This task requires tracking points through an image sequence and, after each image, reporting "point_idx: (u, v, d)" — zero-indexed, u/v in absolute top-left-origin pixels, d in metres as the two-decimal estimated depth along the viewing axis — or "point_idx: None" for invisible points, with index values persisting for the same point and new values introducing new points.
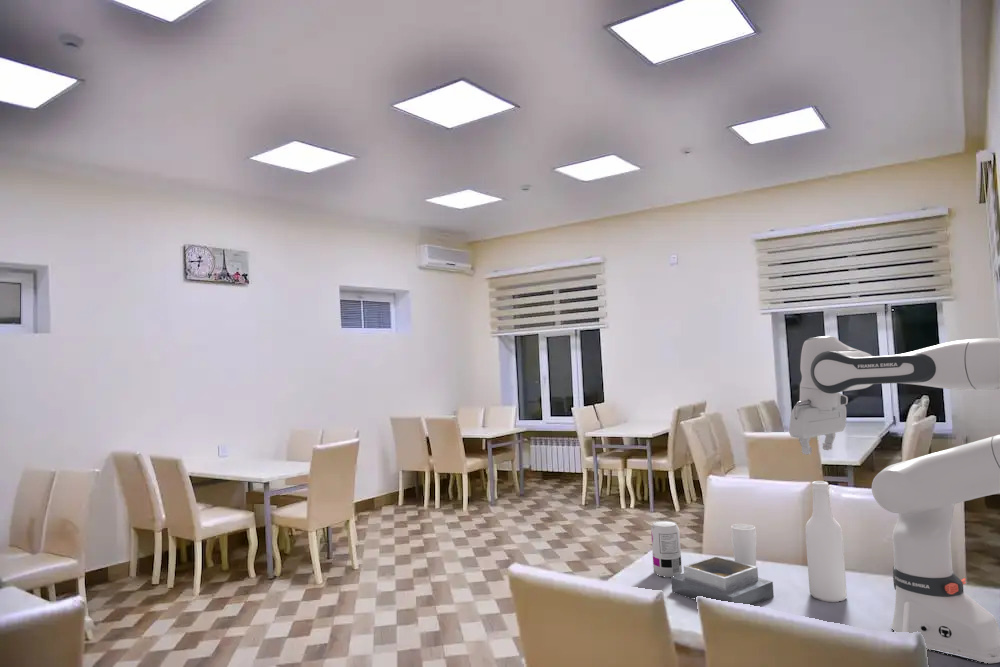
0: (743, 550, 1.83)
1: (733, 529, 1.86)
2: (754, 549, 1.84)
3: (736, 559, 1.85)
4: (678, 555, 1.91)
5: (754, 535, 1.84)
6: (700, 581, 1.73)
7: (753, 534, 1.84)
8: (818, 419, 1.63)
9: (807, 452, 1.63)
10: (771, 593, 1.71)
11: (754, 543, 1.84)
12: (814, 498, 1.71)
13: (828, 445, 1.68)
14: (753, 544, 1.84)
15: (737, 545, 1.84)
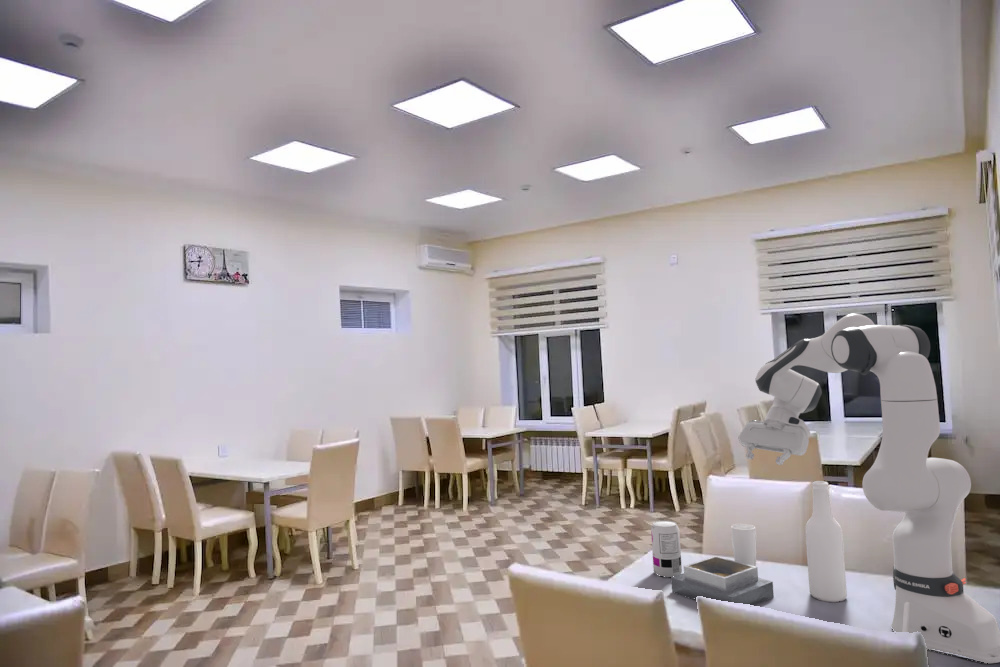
0: (743, 550, 1.83)
1: (733, 529, 1.86)
2: (754, 549, 1.84)
3: (736, 559, 1.85)
4: (678, 555, 1.91)
5: (754, 535, 1.84)
6: (700, 581, 1.73)
7: (753, 534, 1.84)
8: (764, 432, 1.97)
9: None
10: (771, 593, 1.71)
11: (754, 543, 1.84)
12: (814, 498, 1.71)
13: None
14: (753, 544, 1.84)
15: (737, 545, 1.84)
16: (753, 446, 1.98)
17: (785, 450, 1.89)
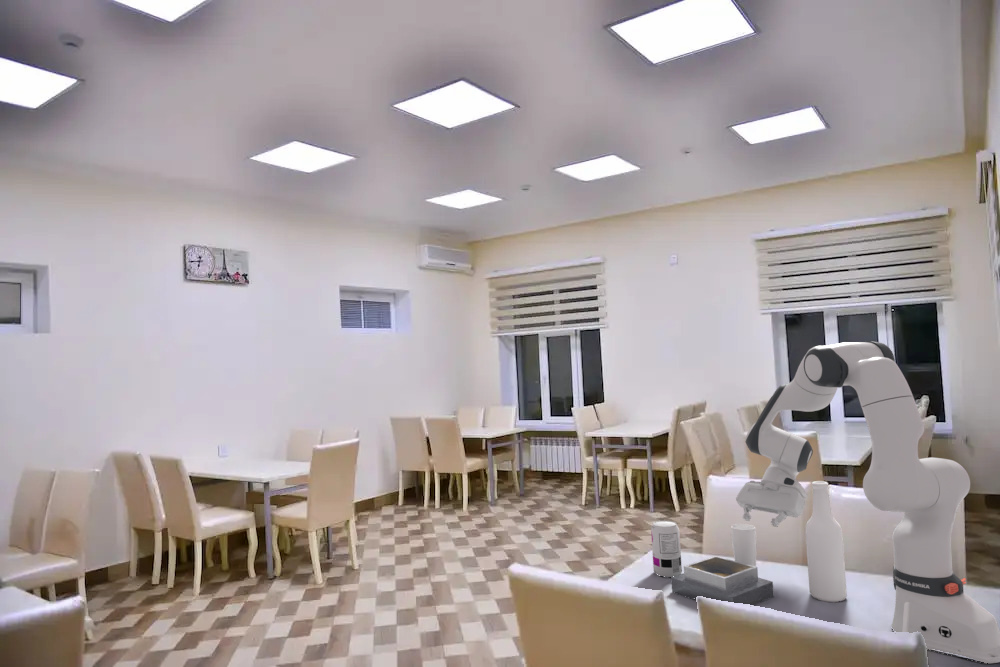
0: (743, 550, 1.83)
1: (733, 529, 1.86)
2: (754, 549, 1.84)
3: (736, 559, 1.85)
4: (678, 555, 1.91)
5: (754, 535, 1.84)
6: (700, 581, 1.73)
7: (753, 534, 1.84)
8: (761, 493, 1.96)
9: None
10: (771, 593, 1.71)
11: (754, 543, 1.84)
12: (814, 498, 1.71)
13: None
14: (753, 544, 1.84)
15: (737, 545, 1.84)
16: (750, 507, 1.97)
17: (780, 512, 1.87)
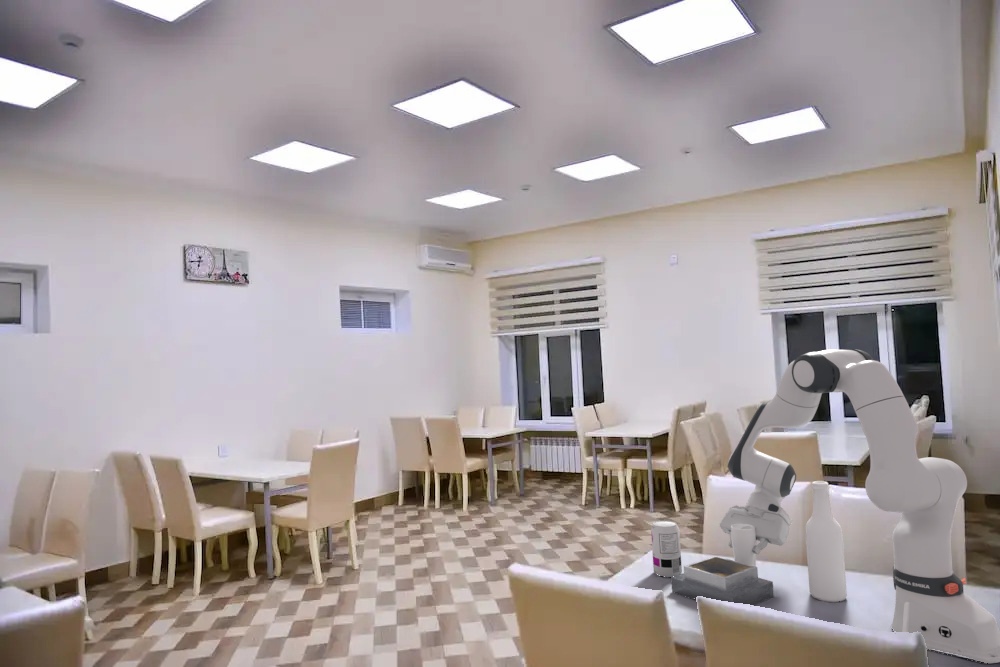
0: (743, 550, 1.83)
1: (733, 529, 1.86)
2: None
3: (736, 559, 1.85)
4: (678, 555, 1.91)
5: (754, 535, 1.84)
6: (700, 581, 1.73)
7: (753, 534, 1.84)
8: (745, 519, 1.91)
9: None
10: (771, 593, 1.71)
11: (754, 543, 1.84)
12: (814, 498, 1.71)
13: None
14: (753, 544, 1.84)
15: (737, 545, 1.84)
16: None
17: (761, 539, 1.83)
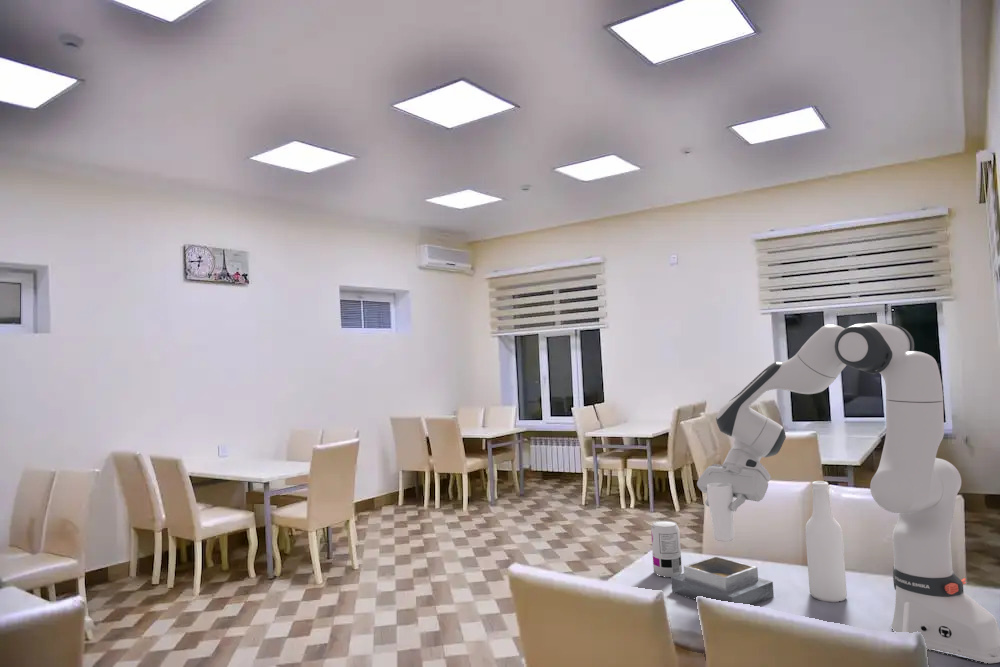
0: (719, 508, 1.75)
1: (708, 487, 1.78)
2: None
3: (713, 519, 1.77)
4: (678, 555, 1.91)
5: (730, 493, 1.76)
6: (700, 581, 1.73)
7: (729, 492, 1.76)
8: (722, 477, 1.83)
9: None
10: (771, 593, 1.71)
11: (730, 501, 1.75)
12: (814, 498, 1.71)
13: None
14: (729, 502, 1.75)
15: (713, 504, 1.76)
16: None
17: (738, 495, 1.75)
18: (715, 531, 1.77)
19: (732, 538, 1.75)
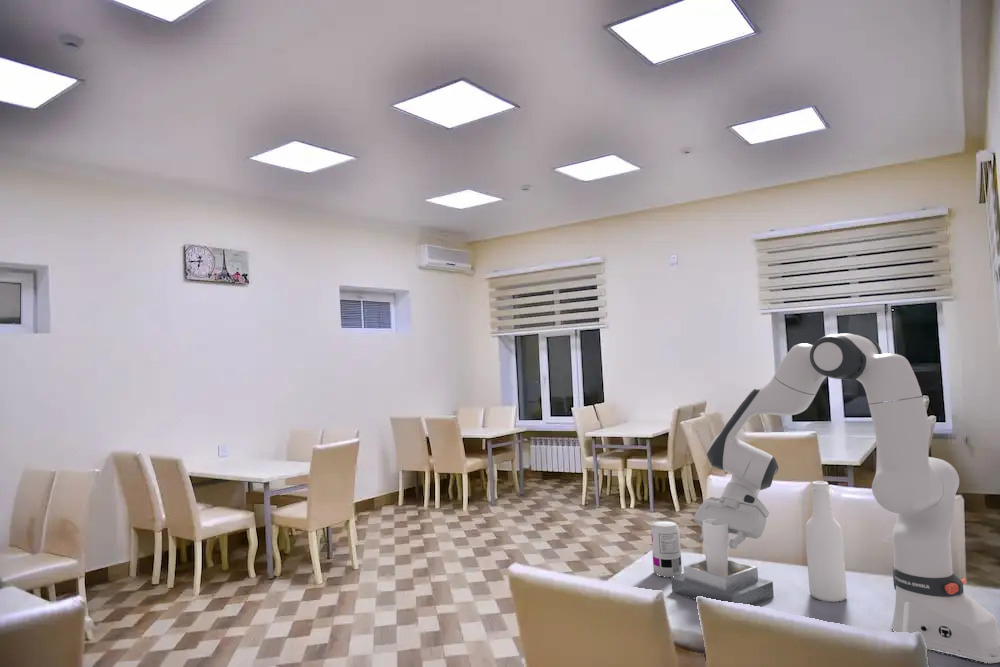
0: (714, 547, 1.74)
1: (704, 525, 1.76)
2: (726, 546, 1.74)
3: (707, 556, 1.76)
4: (678, 555, 1.91)
5: (726, 531, 1.74)
6: (700, 581, 1.73)
7: (725, 530, 1.74)
8: (720, 511, 1.81)
9: None
10: (771, 593, 1.71)
11: (726, 540, 1.74)
12: (814, 498, 1.71)
13: None
14: (725, 541, 1.74)
15: (708, 541, 1.75)
16: None
17: (739, 532, 1.72)
18: (708, 568, 1.76)
19: (725, 576, 1.74)
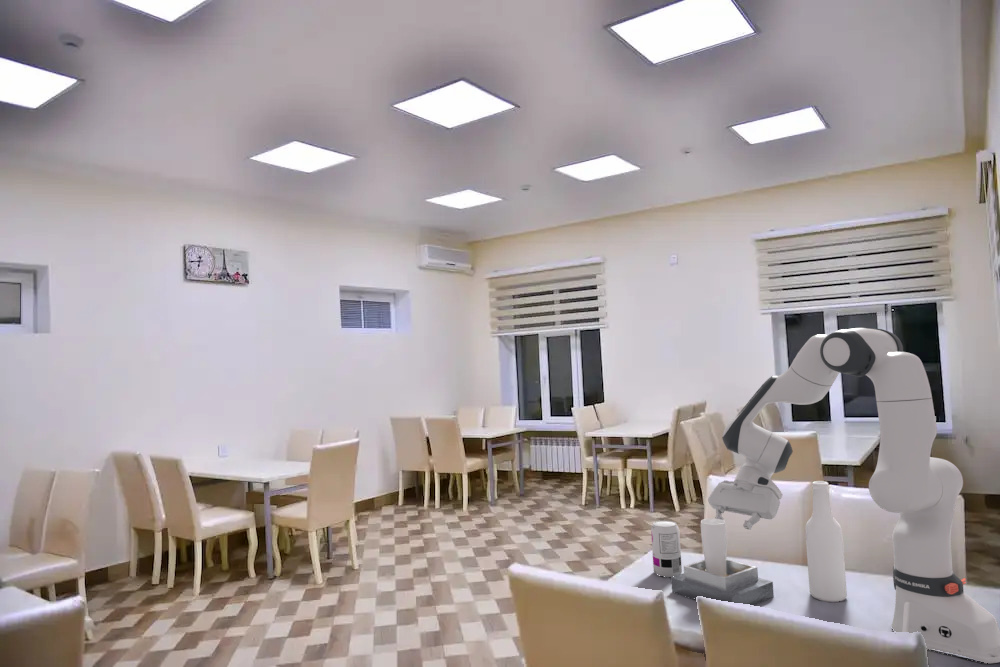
0: (712, 546, 1.75)
1: (702, 524, 1.77)
2: (724, 545, 1.75)
3: (705, 555, 1.77)
4: (678, 555, 1.91)
5: (724, 530, 1.75)
6: (700, 581, 1.73)
7: (722, 529, 1.75)
8: (734, 494, 1.84)
9: None
10: (771, 593, 1.71)
11: (724, 539, 1.75)
12: (814, 498, 1.71)
13: None
14: (722, 540, 1.75)
15: (706, 540, 1.76)
16: (723, 509, 1.85)
17: (753, 513, 1.76)
18: (707, 568, 1.76)
19: (724, 576, 1.75)
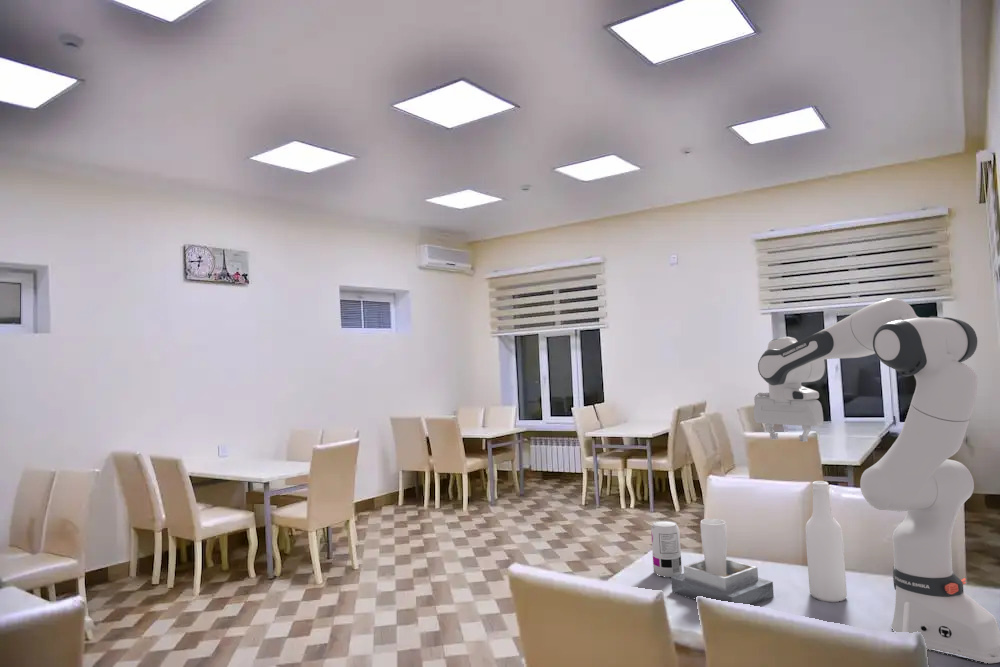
0: (712, 546, 1.75)
1: (702, 524, 1.77)
2: (723, 545, 1.75)
3: (705, 555, 1.77)
4: (678, 555, 1.91)
5: (724, 531, 1.75)
6: (700, 581, 1.73)
7: (722, 529, 1.75)
8: (776, 409, 1.90)
9: None
10: (771, 593, 1.71)
11: (723, 539, 1.75)
12: (814, 498, 1.71)
13: None
14: (722, 540, 1.74)
15: (705, 541, 1.76)
16: (772, 423, 1.93)
17: (804, 427, 1.83)
18: (707, 568, 1.76)
19: (724, 576, 1.75)
